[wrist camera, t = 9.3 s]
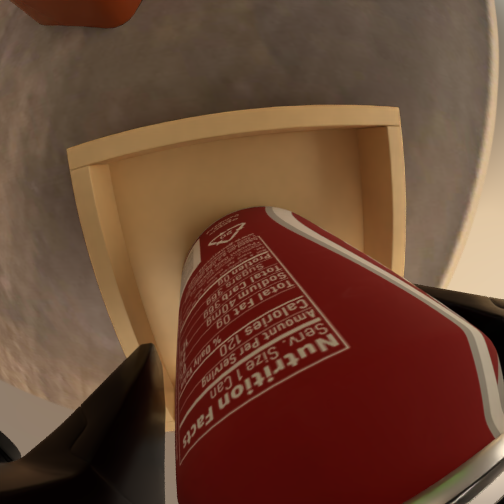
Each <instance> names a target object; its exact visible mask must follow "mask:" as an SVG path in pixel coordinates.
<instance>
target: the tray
mask: <svg viewBox="0 0 504 504" xmlns="http://www.w3.org/2000/svg"><path fill="white" fill-rule="evenodd" d="M400 125H401V121H400V113H399V108H398V107H389V106H371V105H300V106H281V107H268V108H256V109H246V110H237V111H229V112H221V113H214V114H207V115H201V116H195V117H189V118H183V119H178V120H173V121H168V122H163V123H158V124H153V125H149V126H145V127H140V128H136V129H132V130H128V131H124V132H120V133H117V134H113V135H109V136H106V137H102V138H99V139H95V140H92V141H89V142H86V143H82V144H79V145H76V146H73V147H70V148H67V157H68V164H69V170H71V171H70V176H71V181H72V187H73V192H74V197H75V201H76V206H77V211H78V215H79V219H80V223H81V227H82V231H83V235H84V239H85V243H86V247H87V250H88V254H89V257H90V260H91V264H92V267H93V270H94V274H95V277H96V280H97V283H98V286H99V289H100V292H101V295H102V298H103V300H104V303H105V306H106V309H107V311H108V314H109V317H110V319H111V322H112V324H113V327H114V330H115V332H116V334H117V337H118V339H119V342H120V344H121V346H122V349H123V351H124V353H125V356H126V358H128V357H129V356H130V355H131V354H132V353H133V352H134V351H135V350H136V349H137V348H138V347H139V346H140V345H141V344H146V343H153V344H154V345H155V347H156V350H157V353H158V355H159V358H160V360H161V363H162V367H163V380H164V394H165V407H166V417H165V431H174V430H175V382H176V353H177V333H178V317H179V303H180V290H181V278H182V271H183V266H184V263H185V259H186V257H187V255H188V252H189V250H190V248H191V247H192V245H193V243H194V242H195V241H196V239H197V238H198V237H199V236H200V234H201V233H202V232H203V231H204V230H205V229H206V228H207V227H208V226H210V225H211V224H212V223H213V222H215V221H216V220H218V219H219V218H221V217H223V216H225V215H227V214H229V213H231V212H234V211H236V210H240V209H243V208H248V207H254V206H271V207H278V208H282V209H286V210H289V211H291V212H294V213H296V214H298V215H300V216H301V217H303V218H305V219H307V220H308V221H310V222H312V223H314V224H315V225H317V226H319V227H321V228H322V229H324V230H326V231H327V232H329V233H331V234H333V235H334V236H336V237H338V238H339V239H341V240H343V241H344V242H346V243H348V244H349V245H351V246H353V247H354V248H356V249H358V250H359V251H361V252H363V253H364V254H366V255H368V256H369V257H371V258H372V259H374V260H376V261H377V262H379V263H380V264H382V265H384V266H385V267H387V268H388V269H390V270H392V271H393V272H395V273H396V274H398V275H399V276H401V277H403V276H404V261H405V239H406V190H405V168H404V153H403V141H402V131H401V126H400Z"/></svg>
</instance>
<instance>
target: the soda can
mask: <svg viewBox="0 0 504 504" xmlns="http://www.w3.org/2000/svg"><path fill="white" fill-rule="evenodd" d="M175 456H176V484H177V499H178V503H179V504H468V503H469V502H471V501H472V500H473V499H474V498H476V496H478V495H479V494H480V493H481V492H482V491H484V490H485V489H486V488H487V487H488V486H489V485H490V484H491V483H492V482H493V481H494V480H495V479H496V478H497V477H498V476H499V475H500V474H501V473H502V472H503V471H504V380H503V375H502V371H501V366H500V362H499V358H498V354H497V351H496V349H495V347H494V345H493V343H492V342H491V340H490V339H489V338H488V337H487V336H486V335H485V334H484V333H483V332H481V331H480V330H479V329H477V328H476V327H475V326H473V325H472V324H470V323H469V322H468V321H466V320H465V319H463V318H462V317H460V316H459V315H458V314H456V313H455V312H453V311H452V310H450V309H449V308H448V307H446V306H445V305H443V304H442V303H440V302H439V301H437V300H436V299H434V298H433V297H431V296H430V295H428V294H427V293H425V292H424V291H422V290H421V289H419V288H418V287H416V286H415V285H413V284H412V283H410V282H409V281H407V280H406V279H404V278H403V277H401V276H399V275H398V274H396V273H395V272H393V271H392V270H390V269H388V268H387V267H385V266H384V265H382V264H380V263H379V262H377V261H376V260H374V259H372V258H371V257H369V256H368V255H366V254H364V253H363V252H361V251H359V250H358V249H356V248H354V247H353V246H351V245H349V244H348V243H346V242H344V241H343V240H341V239H339V238H338V237H336V236H334V235H333V234H331V233H329V232H327V231H326V230H324V229H322V228H321V227H319V226H317V225H315V224H314V223H312V222H310V221H308V220H307V219H305V218H303V217H301V216H300V215H298V214H296V213H294V212H291V211H289V210H286V209H282V208H278V207H271V206H254V207H248V208H243V209H240V210H236V211H234V212H231V213H229V214H227V215H225V216H223V217H221V218H219V219H218V220H216V221H215V222H213V223H212V224H211V225H210V226H208V227H207V228H206V229H205V230H204V231H203V232H202V233H201V234H200V236H199V237H198V238H197V239H196V241H195V242H194V243H193V245H192V247H191V248H190V250H189V252H188V255H187V257H186V259H185V263H184V266H183V271H182V278H181V290H180V303H179V317H178V333H177V353H176V382H175Z"/></svg>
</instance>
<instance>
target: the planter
mask: <svg viewBox="0 0 504 504" xmlns="http://www.w3.org/2000/svg"><path fill="white" fill-rule="evenodd" d="M10 1H11V2H12V3H14V4H15V5H16V6H17V7H19V8H20V9H21V10H23V11H24V12H25V13H26V14H28V15H29V16H30V17H31V18H33V19H34V20H35V21H36V22H38V23H39V24H41V25H64V26H86V27H98V28H115V27H117V26H120V25H122V24H124V23H125V22H127V21H128V20H130V18H131V17H132V16H133V15H134V13H135V12H136V10H137V8H138V6H139V5H140V3H141V1H142V0H10Z"/></svg>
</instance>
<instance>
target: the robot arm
mask: <svg viewBox="0 0 504 504" xmlns="http://www.w3.org/2000/svg"><path fill="white" fill-rule="evenodd" d="M413 285H415V286H416V287H418V288H419V289H421V290H422V291H424V292H425V293H427V294H428V295H430V296H431V297H433V298H434V299H436V300H437V301H439V302H440V303H442V304H443V305H445V306H446V307H448V308H449V309H450V310H452V311H453V312H455V313H456V314H458V315H459V316H460V317H462V318H463V319H465V320H466V321H468V322H469V323H470V324H472V325H473V326H475V327H476V328H477V329H479V330H480V331H481V332H483V333H484V334H485V335H486V336H487V337H488V338H489V339H490V340H491V342H492V343H493V345H494V347H495V349H496V351H497V354H498V358H499V362H500V366H501V371H502V375H503V380H504V299H498V298H491V297H489V298H488V297H485V296H480V295H474V294H469V293H463V292H457V291H452V290H446V289H440V288H435V287H429V286H423V285H418V284H413ZM165 417H166V407H165V394H164V380H163V367H162V363H161V360H160V358H159V355H158V353H157V350H156V347H155V345H154V344H153V343H146V344H141V345H140V346H139V347H138V348H137V349H136V350H135V351H134V352H133V353H132V354H131V355H130V356H129V357H128V358H127V359H126V360H125V361H124V362H123V363H122V364H121V365H120V366H119V367H118V368H117V369H116V370H115V371H114V372H113V373H112V374H111V375H110V376H109V377H108V378H107V379H106V380H105V381H104V382H103V383H102V384H101V385H100V386H99V387H98V388H97V389H96V390H95V391H94V392H93V393H92V394H91V395H90V396H89V397H88V398H87V399H86V400H85V401H84V402H83V403H82V404H81V407H78V408H77V409H76V410H75V411H74V413H73V414H72V415H71V416H69V418H67V419H66V420H65V421H64V423H62V424H61V425H60V426H59V427H58V428H57V429H56V430H54V432H52V433H51V434H50V435H49V436H48V437H46V438H45V439H44V440H43V441H42V442H40V443H39V444H38V445H37V446H36V447H35V448H33V449H32V450H31V451H30V452H29V453H27V454H26V455H25V456H24V457H22V458H20V459H18V460H16V461H13V460H12V459H11V458H10V457H9V456H8V455H7V454H6V453H5V452H4V451H3V450H2V449H1V447H0V504H165V482H164V480H165V477H164V459H165V456H164V455H165ZM495 504H504V495H503V496H502V497H501V498H500V499H499V500H498V501H497V502H496V503H495Z"/></svg>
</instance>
